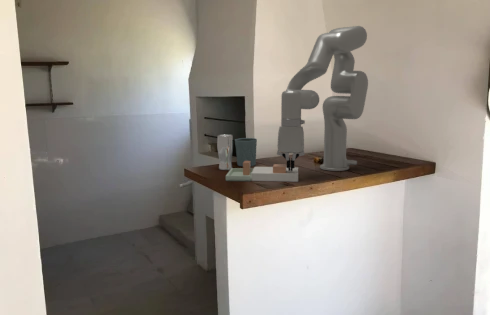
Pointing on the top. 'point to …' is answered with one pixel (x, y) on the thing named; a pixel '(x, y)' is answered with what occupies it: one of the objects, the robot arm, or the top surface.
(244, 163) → the far tile
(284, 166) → the near tile
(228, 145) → the beer glass
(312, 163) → the top surface
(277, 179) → the white slab
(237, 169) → the tray
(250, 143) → the grey cup
